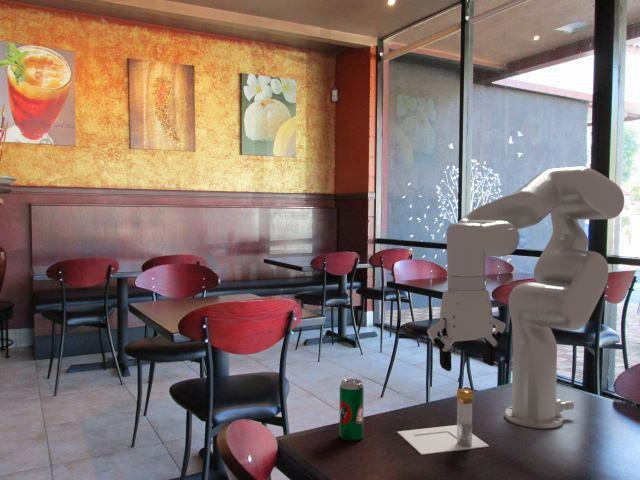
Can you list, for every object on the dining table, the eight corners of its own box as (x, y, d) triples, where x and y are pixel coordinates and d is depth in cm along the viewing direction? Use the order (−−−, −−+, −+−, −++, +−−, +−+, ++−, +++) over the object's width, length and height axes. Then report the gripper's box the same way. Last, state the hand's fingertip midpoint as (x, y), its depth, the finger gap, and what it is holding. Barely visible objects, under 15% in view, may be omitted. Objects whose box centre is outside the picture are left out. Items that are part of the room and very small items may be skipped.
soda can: (361, 443, 116) (361, 385, 115) (337, 441, 117) (337, 384, 116) (364, 433, 121) (364, 378, 120) (341, 432, 122) (341, 377, 121)
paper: (459, 425, 125) (459, 424, 125) (489, 446, 114) (489, 445, 114) (397, 432, 122) (397, 431, 122) (421, 454, 110) (421, 453, 110)
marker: (467, 440, 117) (467, 388, 116) (475, 446, 114) (475, 392, 113) (453, 442, 116) (454, 389, 115) (461, 448, 113) (462, 394, 112)
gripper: (493, 278, 119) (494, 357, 120) (419, 284, 115) (420, 366, 116) (514, 283, 112) (515, 367, 113) (436, 289, 108) (437, 376, 109)
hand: (467, 366), depth 114 cm, fingers open, 9 cm apart
